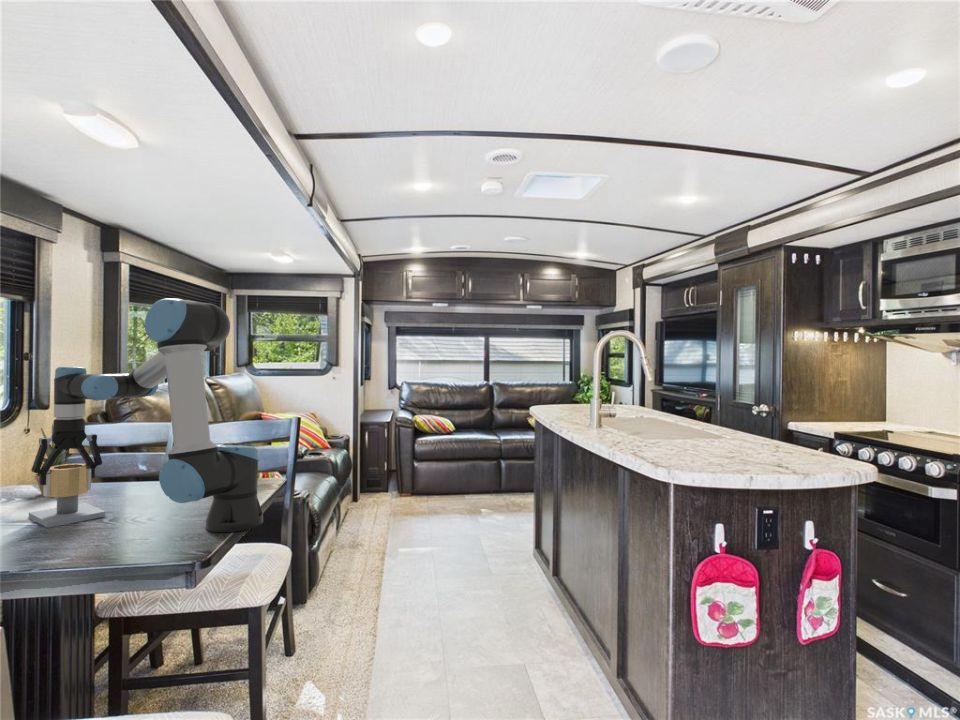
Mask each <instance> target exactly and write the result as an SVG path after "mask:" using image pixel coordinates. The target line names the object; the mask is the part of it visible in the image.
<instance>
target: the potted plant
mask: <svg viewBox="0 0 960 720" xmlns="http://www.w3.org/2000/svg"><path fill="white" fill-rule="evenodd" d="M40 428H41V434H42V438H48V437H47V436H46V433H45V432H44V430H43V428H42V427H40ZM52 435H53V423H52V424H51V436H52ZM54 446H55V444H54V443H53V442H52V441H51V443H50V444H49V445H47V450H46V453H45V455H46V456H47V458H48V457H49V455H50V454H51V452H52V450H53V448H54ZM68 451H69V449H67V450H62V451H61V453H59V455H58V457H57V458H56V460H55V461H54V463H53V464H52V466H57V465H64V464H69V462H70V461H71V460H72V458H70V459H69V457H70V456H67V457H66V458H65V456H66V454H68ZM47 458H45V457H44V459H43V462H42V465H41V466H43V464H44V463H45V461H46V460H47ZM64 458H65V459H64ZM52 466H51V467H52ZM34 479H35V481H36V482H37V484H38V488H39V490H40V493H41V495H42V496H44V495H43V488H44V485H40V483H39V481H40V474H39V473H35V474H34Z"/></svg>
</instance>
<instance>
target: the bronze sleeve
mask: <svg viewBox="0 0 960 720" xmlns="http://www.w3.org/2000/svg"><path fill="white" fill-rule="evenodd" d="M88 468H89V465H87V464H86V463H66V464H64V465H57V466H52V467H50V469H49V471H48V472H47V473H49V474H50V496H49V497H48V498H57V497H69V496H75V495H78V496H80V495H83V494H86V493H88V491H89V490H88Z"/></svg>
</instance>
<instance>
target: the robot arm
mask: <svg viewBox="0 0 960 720" xmlns="http://www.w3.org/2000/svg"><path fill="white" fill-rule="evenodd" d="M144 318H145V319H144V331H145V334H146V335H147V336H148V338H149V339H150V340H152V341H153V342H156V344H157V345H156V346H157V351H158V352H157V353H155V354H154V355H153V356H151V357H150V358H149V359H148V360H146V361H145V362H143V363H142V364H141V365H140V366H138V367H137V368H136V369H134V370H132V371H131V372H130V373H129V372H128V373H95V374H93V373H87V368H86V367H84V366H58V367H57V368H55V370H54V371H55V372H54V379H53V418H55V419H54V420H53V422H52V424H53V435H52V434H51V436H50V437H47V438H44V437H41V438H39V440H38V444H39V447H38V449H37V453H36V455H35V459H34V462H33V464H32V467H31V472H32V473H35V474H37V473H39V474H40V481H39V483H40V485H44V488H43V495H42V496H44V497H46V498H47V497H48V498H50V497H49V496H50V474H49V473H47V472H48V471H49V469H50V467H51V466H52V464H53V463H54V461H55V460H56V458H57V457H58V455H59V453H61V451H62V450H64V451H67V450H70V449H72V450H75V449H76V451H78V453H79V455H80V456H81V458H82V459H83V461H84V462H85V464H87V465H89V467H88V491H91V490H92V479H94V478H95V476H96V475H95V474H96V473H95V472H96V471H95V470H96V468H97V467H98V466H101V465H102V464H103V460H102V457H101V454H100V450H99V445H98V442H97V441H98V435H97V434H96V433H91V434H87V433H86V419H85V418H84V417H85V416H86V403H87V402H86V400H91V401H92V400H93V401H107V400H110V399H111V400H112V399H126V398H127V399H128V398H139V399H140V398H145V397H151V396H153V395H155V394H156V393H157V390H158V389H159V384H160V383H161V382H163V381H164V380H166V379H167V388H168V389H167V390H168V398H169V408H170V409H169V410H170V420H171V428H172V430H171V431H172V440H173V446H172V448H171V449H170V450H169V451H168V452H167V459H168V460H167V461H166V462H164V463H163V464H162V465H161V467H160V468H161V469H160V470H159V474H158V480H159V484H160V485H159V486H160V488H161V490H162V491H163V493H164V495H165V496H166V497H168V499H170V500H171V501H173V502H175V503H179V504H187V503H190V502H192V503H193V502H198V501H200V500H202V499H206V498H210V497H213V498H212V502H211V505H210V508H209V510H208V512H207V513H208V514H207V516H206V519H205V529H206V531H210V532H212V533H236V532H242V531H243V532H244V531H246V530H251V529H255V528H257V527H259V526H261V525H263V523H264V513H263V511H262V507H261V504H260V501H259V497H258V480H259V479H258V477H259V476H258V475H259V471H258V470H259V457H258V456H259V455H258V454H259V453H258V449H257V448H256V447H255V446H252V445H251V446H250V445H240V444H239V445H237V444H236V445H234V444H215V443H214V442H213V441H212V440H211V436H210V435H211V434H210V425H209V415H208V405H207V396H206V395H207V394H206V386H205V385H206V384H205V375H204V366H203V357H202V354H203V353H207V352H208V353H209V352H212V351H214V350H215V349H216V348H218V347H219V346H220V345H222V344H223V343H224V342H225V341H226V339H227V338H228V337H229V334H230V332H231V331H230V330H231V321H230V318H229V316H228V314H227V313H226V311H225V310H223V308H221V307H220V306H218V305H216V304H214V303H209V302H208V303H207V302H200V301H194V300H187V299H181V298H170V297H169V298H168V297H167V298H162V299H159V300H157V301H155V302H154V303H153V304H152V305H151V306H150V309H148V311H147V313H146V315H145V317H144ZM85 440H87V441H88V443H89V447H90V451H91V454H92V458H93V459H92V458H91V456H90V454H89V453H88V451H87V450H86V448H85V446H84V444H83V442H84V441H85ZM52 442H53V443H54V445H55V446H54V448H53V450H52V452H51V454H50V455H49V457H47V458H46V459H47V460H46V461H45V463H44V462H43V459H44V458H45V455H46V450H47V445H49V444H51V443H52ZM42 463H43V465H42Z"/></svg>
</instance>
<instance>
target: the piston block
mask: <svg viewBox="0 0 960 720" xmlns="http://www.w3.org/2000/svg"><path fill="white" fill-rule="evenodd" d="M105 517H106V510H103V509H101V508H98V507H96V506H93V505H91V504H89V503H86V502H80V503H79V495H75V496H69V497H56V507H53V508H47V509H41V510H35V511H29V512H28V518H29V519H30V520H32V521H34V522H36V523H38V524H40V525H42V526H43V527H45V528H47V529H48V528H49V529H50V528H53V527H58V526H63V525H68V524H69V525H70V524H74V523H80V522H83V521H84V522H85V521H89V520H93V519H99V518H105Z"/></svg>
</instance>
